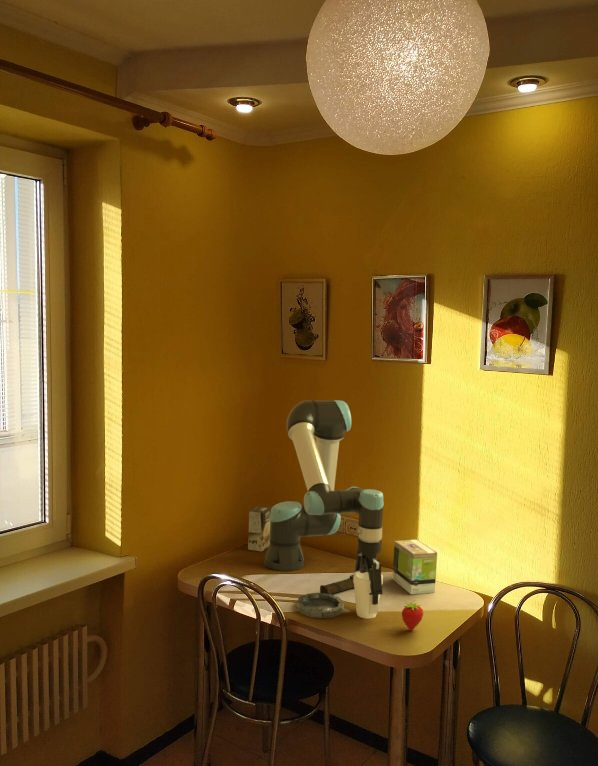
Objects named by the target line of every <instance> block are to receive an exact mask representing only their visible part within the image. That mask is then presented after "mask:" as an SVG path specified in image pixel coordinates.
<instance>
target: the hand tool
mask: <svg viewBox="0 0 598 766" xmlns="http://www.w3.org/2000/svg"><path fill="white" fill-rule="evenodd" d="M353 578H354V574H352V575H350V576H349V578H346V579H343V580H339V581H336V582H332V583H328V584H327V583H326V584H325V585H323V584H321V585H320V587H319V593H325V594H331V595H333V594H336V593H337V594H338V593H340V592H343V591H346V590H350V589H352V590H355V589H354V583H353Z"/></svg>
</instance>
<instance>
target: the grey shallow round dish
mask: <svg viewBox="0 0 598 766" xmlns="http://www.w3.org/2000/svg"><path fill="white" fill-rule="evenodd" d="M296 609H297V611H298V612H299V614H302V615H304V616H305V617H306V616H307V617H309V618H314V619H322V620H323V619H331V618H335V617H337V616H339V615H341V614H343V612H344V610H345V602H344V600H342V598H340V597H338V596H336V595H333V594H325V593H320V592H314V593H313V592H312V593H306V594H304V595H300V596H299V597H298V599H297V600H296Z"/></svg>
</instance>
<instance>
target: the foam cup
mask: <svg viewBox="0 0 598 766" xmlns="http://www.w3.org/2000/svg"><path fill="white" fill-rule="evenodd" d="M353 575H354V578H353V583H354V589H353V590H354V598H355V610H356V615H357V616H358V617H359V618H361V619H366V620H367V619H374V618H376V617H377V614H378V613H375V614H369V599H370V595H369V593H371V588H370V580H369V574H368V572H365V573H360V571H356V572H355V571H354V572H353ZM381 578H382V584H383V580H384V579H383V578H384V575H383V574H382V573H381ZM380 596H381V594H379V596H378V604H379V601H380Z"/></svg>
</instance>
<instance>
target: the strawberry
mask: <svg viewBox="0 0 598 766" xmlns="http://www.w3.org/2000/svg"><path fill="white" fill-rule="evenodd" d="M414 601H416V600H413V601H412V602H410V603H408V602H407V603H406V602H405V604H406V605H404V606H403V607H404V608H403V609H402V611H401V617H402V621H403V623H404V625H405V626H406V627H407V629H408V630H409V631H410V632H411V631H413V630H414V629H415V628H416V627H417V626H419V624H420V623H421V621H422V619H423V617H424V610H423V608H422V607H421V604H417V602H414ZM413 602H414V603H413Z"/></svg>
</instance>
